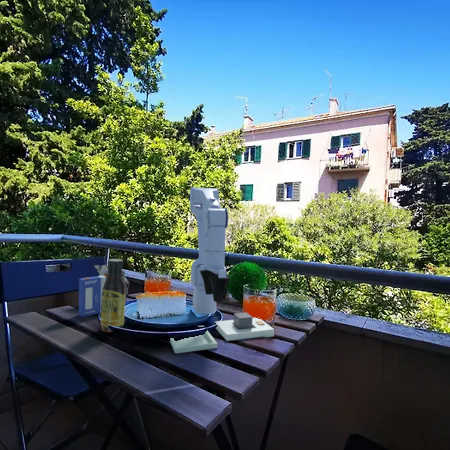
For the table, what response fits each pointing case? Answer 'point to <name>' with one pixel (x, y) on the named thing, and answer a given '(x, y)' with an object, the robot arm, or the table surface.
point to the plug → (242, 321)
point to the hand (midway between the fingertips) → (213, 297)
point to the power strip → (244, 330)
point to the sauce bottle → (113, 297)
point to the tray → (194, 343)
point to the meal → (104, 272)
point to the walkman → (90, 295)
